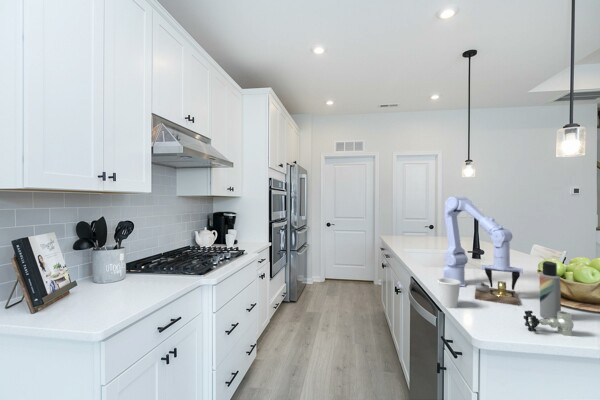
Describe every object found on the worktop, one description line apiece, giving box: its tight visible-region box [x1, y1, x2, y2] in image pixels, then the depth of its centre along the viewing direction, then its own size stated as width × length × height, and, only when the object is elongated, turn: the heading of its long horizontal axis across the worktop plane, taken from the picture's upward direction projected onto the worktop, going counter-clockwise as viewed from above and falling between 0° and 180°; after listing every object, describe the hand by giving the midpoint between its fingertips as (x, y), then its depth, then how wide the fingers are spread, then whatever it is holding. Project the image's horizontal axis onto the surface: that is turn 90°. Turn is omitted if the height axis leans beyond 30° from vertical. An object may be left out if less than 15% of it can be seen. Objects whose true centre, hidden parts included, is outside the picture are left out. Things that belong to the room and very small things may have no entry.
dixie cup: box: [437, 278, 461, 309], centre depth 118 cm, size 8×8×10 cm
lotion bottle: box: [539, 260, 562, 320], centre depth 105 cm, size 6×6×20 cm
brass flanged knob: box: [491, 280, 513, 298], centre depth 127 cm, size 7×7×6 cm
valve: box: [522, 310, 574, 337], centre depth 93 cm, size 7×7×12 cm
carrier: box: [474, 282, 519, 306], centre depth 128 cm, size 15×16×5 cm
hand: (502, 288), depth 127 cm, fingers open, 7 cm apart
